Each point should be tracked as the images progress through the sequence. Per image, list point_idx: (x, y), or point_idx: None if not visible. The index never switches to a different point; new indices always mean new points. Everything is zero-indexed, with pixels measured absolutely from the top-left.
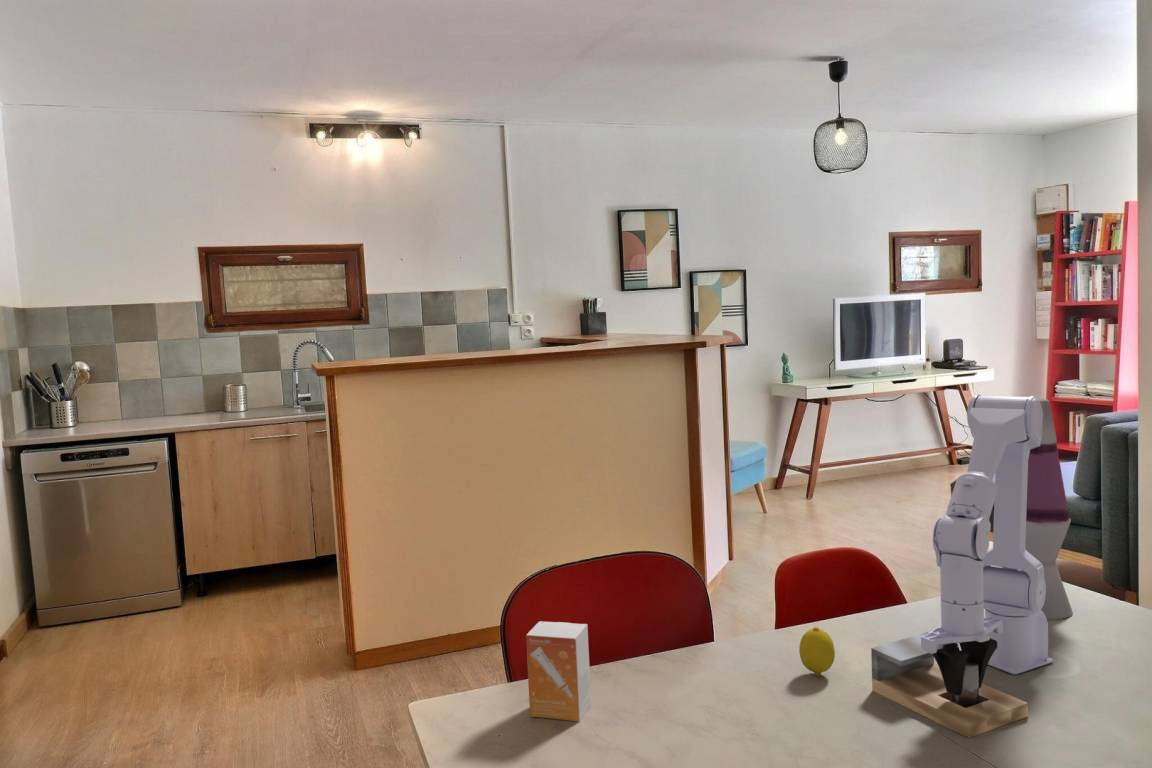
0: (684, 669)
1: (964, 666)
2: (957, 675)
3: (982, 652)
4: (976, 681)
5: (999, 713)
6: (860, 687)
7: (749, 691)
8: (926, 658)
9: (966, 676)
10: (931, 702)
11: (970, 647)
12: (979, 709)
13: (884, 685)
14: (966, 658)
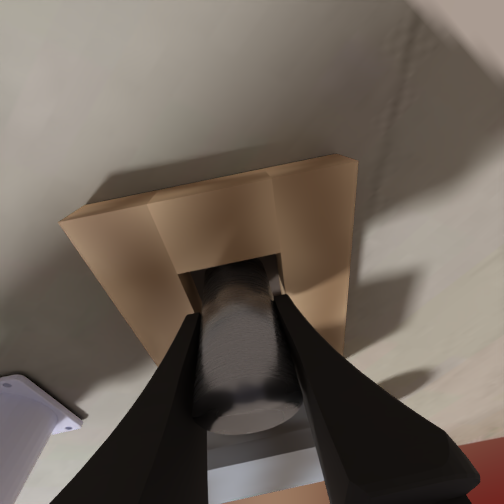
0: (460, 427)
1: (277, 389)
2: (330, 346)
3: (162, 476)
4: (227, 321)
5: (207, 191)
6: None
7: (464, 387)
8: (282, 434)
9: (273, 342)
10: (331, 299)
11: (189, 501)
12: (250, 234)
13: None
14: (341, 440)
